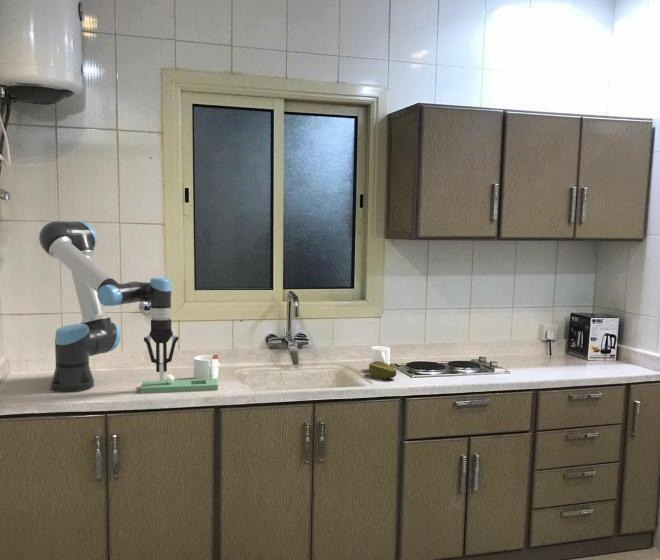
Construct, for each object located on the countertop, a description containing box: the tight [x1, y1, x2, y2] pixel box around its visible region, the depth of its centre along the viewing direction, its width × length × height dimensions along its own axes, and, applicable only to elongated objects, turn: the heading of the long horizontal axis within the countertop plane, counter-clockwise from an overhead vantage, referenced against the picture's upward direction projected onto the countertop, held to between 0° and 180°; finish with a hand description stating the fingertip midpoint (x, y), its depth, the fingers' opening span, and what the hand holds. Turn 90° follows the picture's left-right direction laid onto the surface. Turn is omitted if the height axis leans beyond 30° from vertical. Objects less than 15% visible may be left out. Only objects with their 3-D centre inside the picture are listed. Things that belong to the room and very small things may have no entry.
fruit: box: [368, 361, 397, 380], centre depth 254 cm, size 11×12×7 cm
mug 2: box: [370, 345, 391, 366], centre depth 264 cm, size 12×8×10 cm
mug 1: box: [193, 354, 221, 380], centre depth 242 cm, size 12×10×9 cm
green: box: [140, 354, 219, 394], centre depth 229 cm, size 29×10×12 cm, turn 105°
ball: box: [164, 373, 175, 384], centre depth 228 cm, size 4×4×4 cm
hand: (161, 380), depth 227 cm, fingers closed
